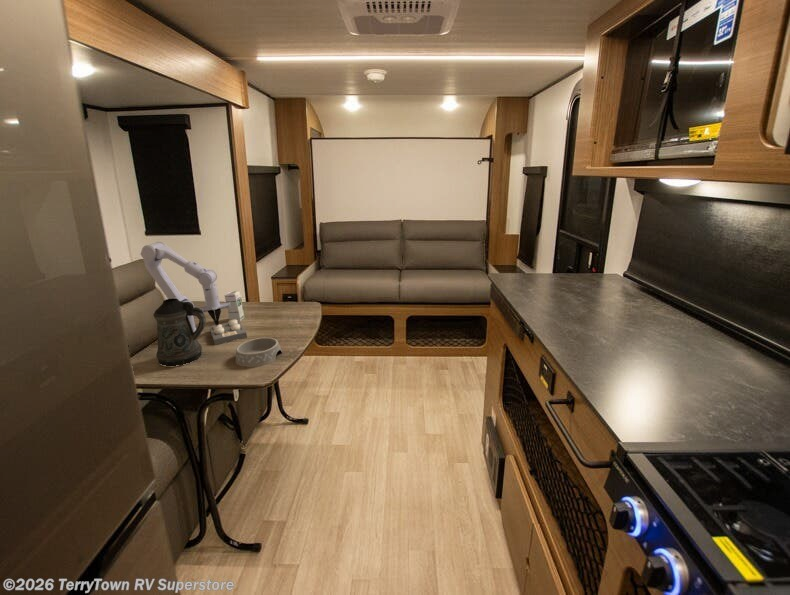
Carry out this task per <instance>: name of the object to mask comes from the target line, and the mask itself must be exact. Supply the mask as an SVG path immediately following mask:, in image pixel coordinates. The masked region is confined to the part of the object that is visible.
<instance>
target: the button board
mask: <svg viewBox="0 0 790 595" xmlns="http://www.w3.org/2000/svg"><path fill="white" fill-rule="evenodd" d="M237 322H238V324H240V328H241V330H237V331H231V327H229V323H228V322H223V323H221V325H222V327H223V328H224V332H225V333H223V334H219V335H215V331H214V330H213V326H214V325H209V331H210V335H211V337H212V340H214V341H213V343H214V345H215V344H217V345H220V343H221V344H226V343H229V342H234V341H238V340H237V339H239V340H243V339H246V338H248V334H247V331H246V329H245V328H244V326H243V324H242V323H241V321H239V320H238V321H237ZM242 338H243V339H242ZM233 340H234V341H233ZM225 342H226V343H225Z"/></svg>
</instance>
